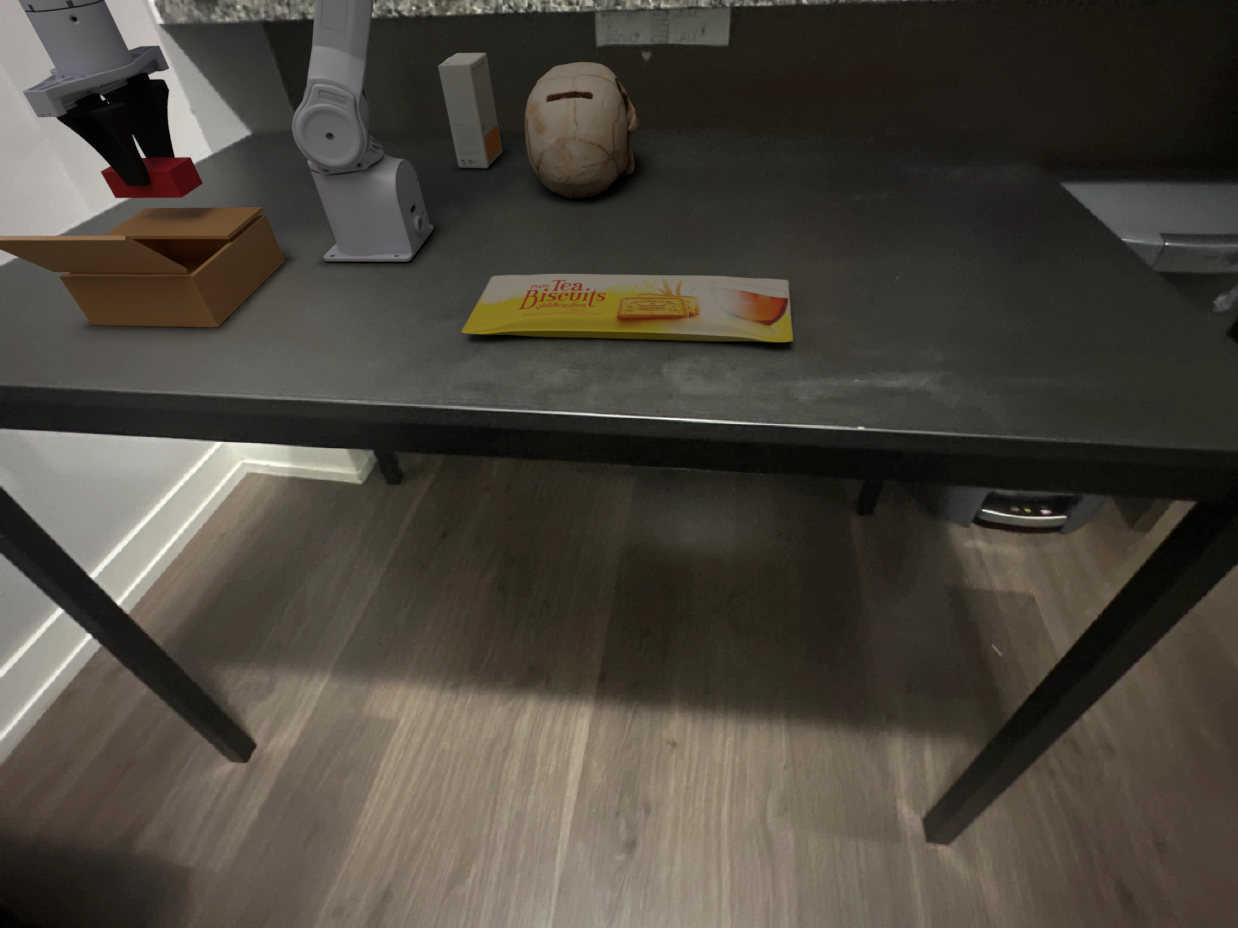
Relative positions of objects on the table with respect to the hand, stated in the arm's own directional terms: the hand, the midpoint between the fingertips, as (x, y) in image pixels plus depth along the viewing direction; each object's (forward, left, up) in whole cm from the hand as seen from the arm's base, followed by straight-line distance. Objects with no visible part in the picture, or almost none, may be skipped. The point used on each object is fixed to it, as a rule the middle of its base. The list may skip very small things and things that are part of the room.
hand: (153, 175), depth 64 cm
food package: (-46, +8, -10) cm, 47 cm away
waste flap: (-2, +13, -2) cm, 13 cm away
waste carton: (-2, +4, -10) cm, 11 cm away
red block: (0, 0, -1) cm, 1 cm away
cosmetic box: (-22, -31, -10) cm, 39 cm away
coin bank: (-37, -25, -10) cm, 45 cm away
